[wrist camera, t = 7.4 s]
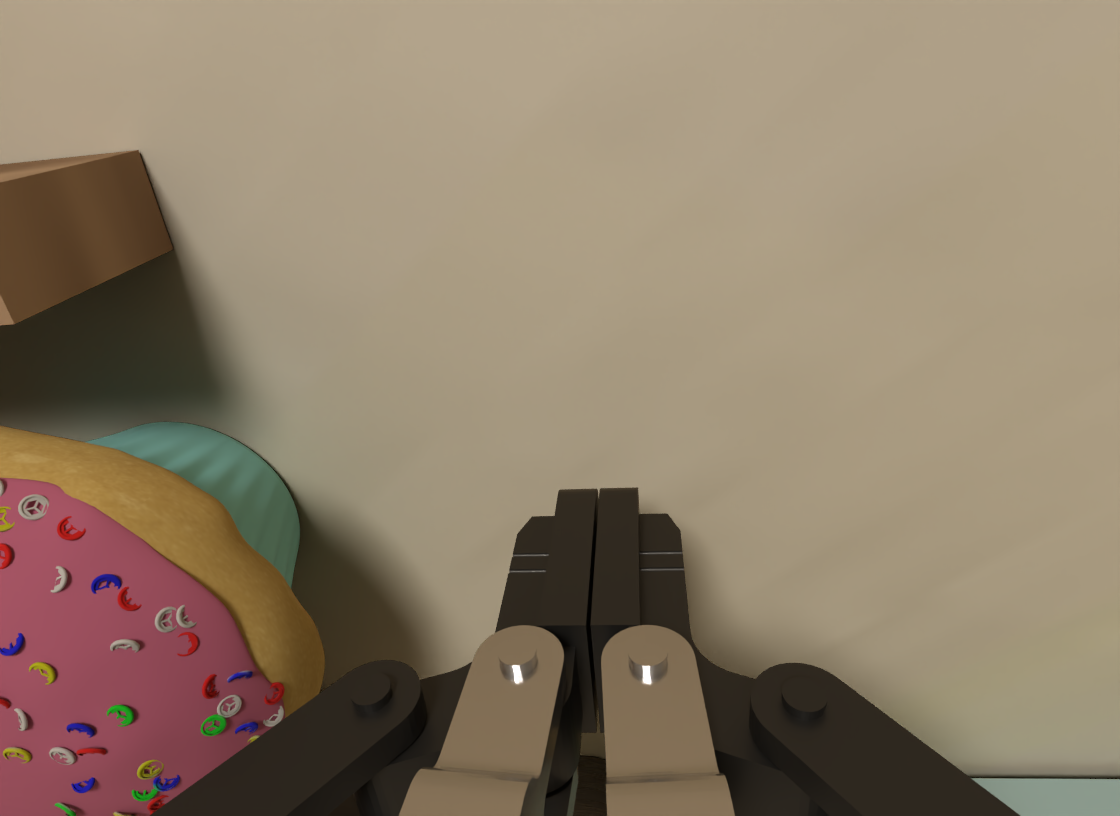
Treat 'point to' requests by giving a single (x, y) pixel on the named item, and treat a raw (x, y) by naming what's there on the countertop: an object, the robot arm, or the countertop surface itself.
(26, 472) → the cupcake
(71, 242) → the wooden u-shaped bracket
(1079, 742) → the countertop surface
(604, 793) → the post
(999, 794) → the bar
